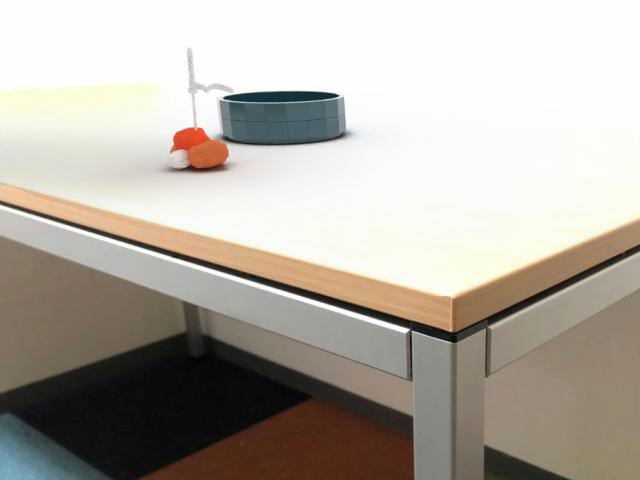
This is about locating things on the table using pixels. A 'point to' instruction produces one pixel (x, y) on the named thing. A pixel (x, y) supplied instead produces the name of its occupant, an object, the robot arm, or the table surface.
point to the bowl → (282, 116)
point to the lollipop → (197, 134)
